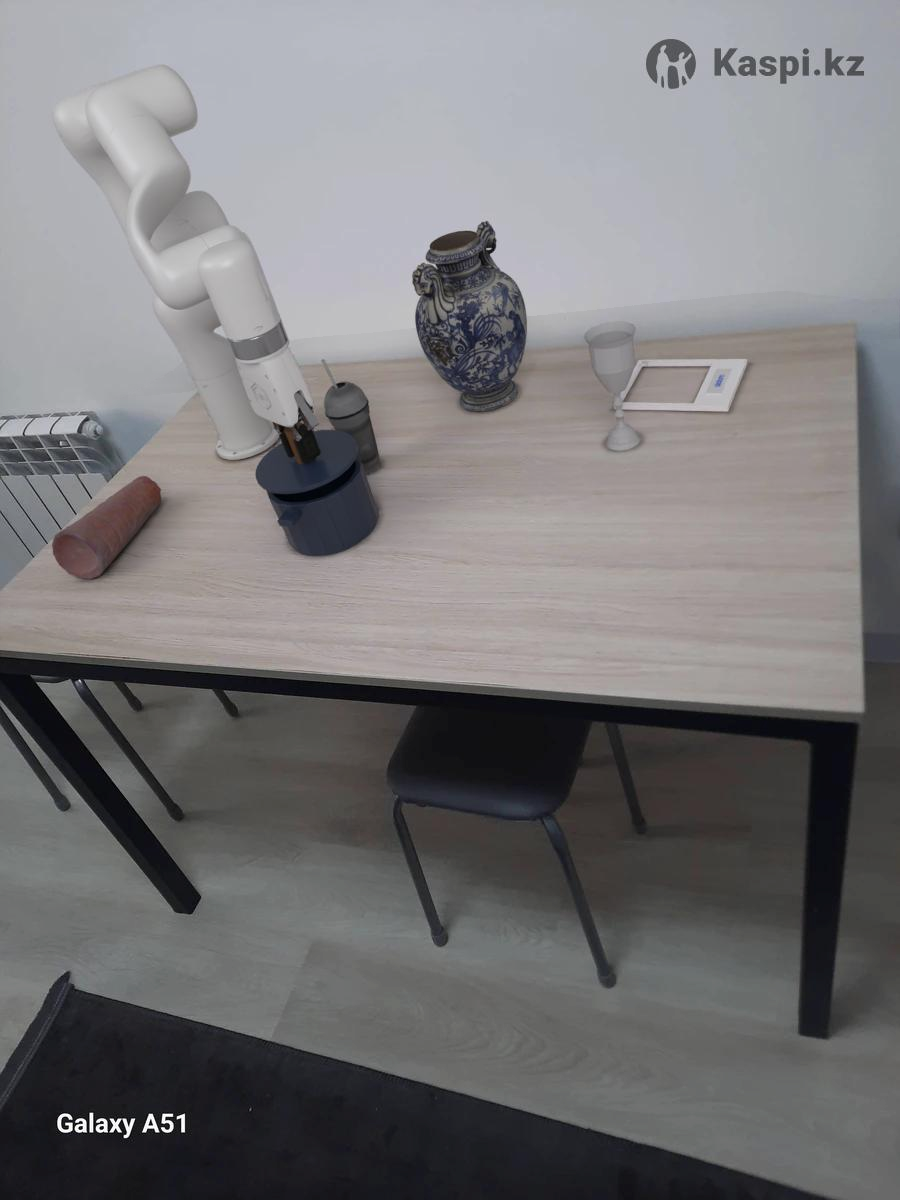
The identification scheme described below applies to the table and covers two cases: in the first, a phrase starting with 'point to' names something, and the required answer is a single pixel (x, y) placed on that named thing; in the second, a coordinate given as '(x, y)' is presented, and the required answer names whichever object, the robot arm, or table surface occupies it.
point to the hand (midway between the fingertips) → (304, 454)
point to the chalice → (614, 372)
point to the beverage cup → (352, 419)
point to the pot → (328, 514)
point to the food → (106, 529)
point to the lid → (298, 477)
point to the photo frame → (712, 392)
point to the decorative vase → (471, 318)
